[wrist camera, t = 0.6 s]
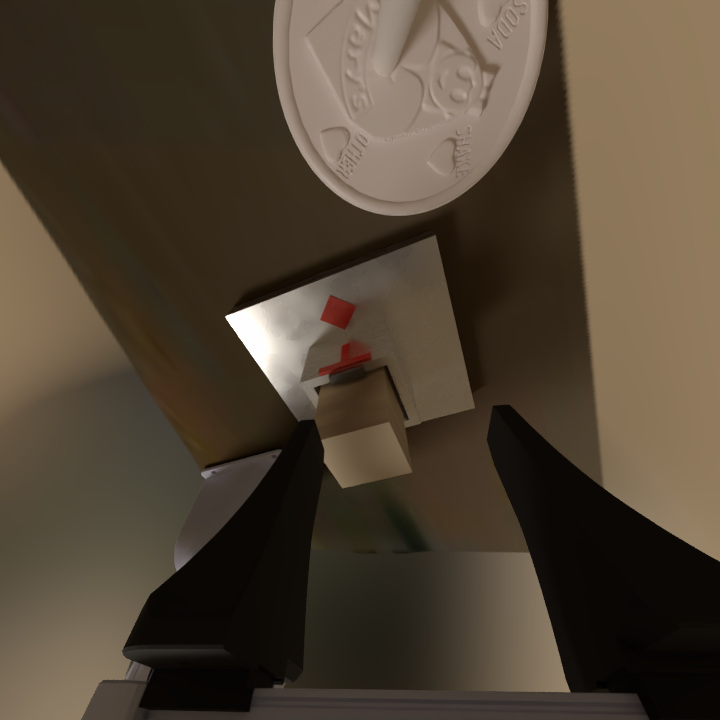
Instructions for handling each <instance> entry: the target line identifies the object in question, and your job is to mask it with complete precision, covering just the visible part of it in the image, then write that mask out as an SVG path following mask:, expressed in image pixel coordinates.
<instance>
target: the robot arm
mask: <svg viewBox="0 0 720 720" xmlns="http://www.w3.org/2000/svg"><path fill="white" fill-rule="evenodd" d="M487 442H488V445H489V449H490V452H491V456H492V459H493V462H494V465H495V467H496V470H497V472H498V475H499V477H500V479H501V482H502V484H503V486H504V488H505V491H506V493H507V495H508V498H509V500H510V502H511V504H512V507H513V509H514V511H515V514H516V516H517V518H518V521H519V523H520V526H521V528H522V531H523V534H524V537H525V540H526V543H527V546H528V549H529V552H530V555H531V558H532V561H533V564H534V567H535V571H536V574H537V577H538V580H539V583H540V587H541V589H542V593H543V597H544V600H545V604H546V607H547V610H548V614H549V618H550V621H551V624H552V628H553V632H554V636H555V639H556V643H557V646H558V651H559V654H560V658H561V662H562V666H563V670H564V674H565V678H566V681H567V684H568V686H569V689H570V692H571V693H565V692H564V693H563V692H495V691H494V692H492V691H428V690H427V691H426V690H356V689H289V688H284V685H285V683H288V682H289V683H293V682H295V680H297V678H298V677H299V676H300V674H301V673H302V671H303V655H304V634H305V633H304V632H305V615H306V614H305V613H306V598H307V584H308V570H309V559H310V549H311V539H312V532H313V526H314V520H315V515H316V509H317V504H318V499H319V493H320V488H321V482H322V476H323V466H324V447H323V444H322V441H321V438H320V434H319V431H318V428H317V425H316V422H315V419H311V420H300V421H299V422H298V424H297V426H296V428H295V429H294V431H293V433H292V435H291V436H290V438H289V440H288V441H287V443H286V444H285V446H284V448H283V449H282V450H281V449H277V450H273V451H270V452H266V453H262V454H259V455H255V456H251V457H247V458H244V459H240V460H236V461H232V462H229V463H225V464H221V465H218V466H214V467H210V468H206V469H203V470H202V472H201V475H202V476H203V477H204V478H205V481H204V484H203V486H202V488H201V490H200V492H199V494H198V496H197V498H196V500H195V502H194V504H193V506H192V508H191V510H190V512H189V514H188V516H187V518H186V520H185V523H184V525H183V527H182V529H181V531H180V533H179V535H178V538H177V542H176V547H175V555H174V560H175V567H176V570H177V572H176V573H175V574H173V575H172V576H171V577H170V578H169V579H168V580H167V581H165V582H164V583H163V584H162V585H161V586H160V587H159V588H157V589H156V590H155V591H154V592H153V593H151V594H150V596H149V598H148V599H147V601H146V603H145V605H144V607H143V609H142V610H141V613H140V615H139V617H138V619H137V621H136V623H135V625H134V627H133V629H132V631H131V634H130V636H129V638H128V640H127V642H126V644H125V646H124V649H123V650H122V652H123V655H124V656H125V657H126V658H128V659H130V660H131V662H130V665H129V667H128V670H127V672H126V676H125V680H103V681H102V682H101V683H99V685H98V687H97V689H96V691H95V693H94V695H93V697H92V699H91V701H90V703H89V705H88V707H87V709H86V711H85V713H84V715H83V717H82V719H81V720H720V562H719V561H718V560H716V559H714V558H712V557H710V556H708V555H707V554H705V553H703V552H701V551H700V550H698V549H696V548H695V547H693V546H691V545H689V544H688V543H686V542H684V541H683V540H681V539H679V538H678V537H676V536H674V535H672V534H671V533H669V532H668V531H666V530H664V529H663V528H661V527H660V526H658V525H656V524H655V523H654V522H652V521H650V520H649V519H648V518H646V517H644V516H643V515H641V514H640V513H638V512H637V511H635V510H634V509H632V508H630V507H629V506H628V505H626V504H625V503H623V502H622V501H620V500H619V499H618V498H616V497H615V496H613V495H612V494H611V493H609V492H608V491H607V490H605V489H604V488H603V487H601V486H600V485H598V484H597V483H596V482H595V481H593V480H592V479H591V478H589V477H588V476H587V475H586V474H584V473H583V472H582V471H581V470H579V469H578V468H577V467H576V466H575V465H573V464H572V463H571V462H570V461H569V460H567V459H566V458H565V457H564V456H563V455H562V454H561V453H559V452H558V451H557V450H556V449H555V448H554V447H553V446H552V445H551V444H550V443H548V442H547V441H546V440H545V439H544V438H543V437H542V436H541V435H540V434H539V433H538V432H537V431H536V430H535V429H534V428H533V427H532V426H530V425H529V424H528V423H527V422H526V421H525V420H524V419H523V418H522V417H521V416H520V415H519V414H518V413H517V412H516V411H515V410H514V409H513V408H512V407H511V406H510V405H497V406H493V408H492V414H491V419H490V425H489V431H488V436H487Z"/></svg>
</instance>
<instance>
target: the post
mask: <svg viewBox="0 0 720 720" xmlns="http://www.w3.org/2000/svg"><path fill="white" fill-rule="evenodd" d="M401 402H402V401H401V398H400V396H399V393H398V391H397V388H396V386H395V383H394V381H393V378H392V376H391V373H390V371H389V369H388V366H387V365H385V366H382V367H379V368H375V369H372V370H369V371H366V372H365V376H363V377H360V378H357V379H353V380H350V381H347V382H344V383H340V384H337V385H334V386H333V385H332V384H331V382H330V383H327V384H323V385H321V387H320V393H319V398H318V404H317V409H316V415H315V422H316V425H317V428H318V431H319V434H320V438H321V441H322V444H323V447H324V463H325V464H326V465H327V467H328V468H329V470H330V471H331V472H332V474H333V475H334V477H335V478H336V480H337V481H338V482H339V484H340V485H341V487H342V488H346V487H350V486H355V485H359V484H364V483H368V482H373V481H377V480H381V479H386V478H390V477H395V476H399V475H403V474H408V473H412V466H411V460H410V454H409V448H408V442H407V436H406V430H405V424H404V418H403V409H402V406H401Z"/></svg>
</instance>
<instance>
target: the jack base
mask: <svg viewBox="0 0 720 720" xmlns="http://www.w3.org/2000/svg"><path fill="white" fill-rule="evenodd" d="M225 317H226V319H227V320H228V322H229V323H230V324H231V326H232V327H233V329H234V330H235V332H236V333H237V334H238V336H239V337H240V339H241V340H242V342H243V343H244V344H245V346H246V347H247V349H248V350H249V352H250V353H251V354H252V356H253V357H254V359H255V360H256V362H257V363H258V364H259V366H260V367H261V369H262V370H263V372H264V373H265V374H266V376H267V377H268V379H269V380H270V382H271V383H272V384H273V386H274V387H275V389H276V390H277V392H278V393H279V394H280V396H281V397H282V399H283V400H284V402H285V403H286V404H287V406H288V407H289V409H290V410H291V412H292V413H293V415H294V416H295V417H296V419H297V420H298V422H299V421H300V420H311V419H315V415H316V409H317V404H318V398H319V393H320V387H321V385H323V384H327V383H330V382H331V384H332V385H333V386H334V385H337V384H340V383H344V382H347V381H350V380H353V379H357V378H360V377H363V376H365V372H366V371H369V370H372V369H375V368H379V367H382V366H385V365H387V366H388V369H389V371H390V373H391V376H392V378H393V381H394V383H395V386H396V388H397V391H398V393H399V396H400V398H401V401H402V402H401V406H402V409H403V418H404V424H405V428H406V427H410V426H414V425H417V424H421V422H423V421H427V420H431V419H435V418H438V417H442V416H446V415H450V414H454V413H458V412H462V411H465V410H469V409H473V408H475V406H474V401H473V397H472V393H471V388H470V384H469V380H468V375H467V371H466V366H465V362H464V358H463V353H462V349H461V344H460V340H459V336H458V331H457V327H456V322H455V318H454V314H453V309H452V305H451V300H450V296H449V292H448V287H447V283H446V278H445V274H444V270H443V265H442V261H441V256H440V252H439V248H438V243H437V239H436V235H435V234H434V233H433V232H432V231H431V230H429V231H426V232H424V233H421V234H419V235H416V236H413V237H411V238H408V239H406V240H403V241H401V242H398V243H396V244H393V245H391V246H388V247H385V248H383V249H380V250H378V251H375V252H373V253H370V254H368V255H365V256H362V257H360V258H357V259H355V260H352V261H350V262H347V263H345V264H342V265H340V266H337V267H334V268H332V269H329V270H327V271H324V272H322V273H319V274H317V275H314V276H311V277H309V278H306V279H304V280H301V281H299V282H296V283H294V284H291V285H289V286H286V287H283V288H281V289H278V290H276V291H273V292H271V293H268V294H266V295H263V296H261V297H258V298H255V299H253V300H250V301H248V302H245V303H243V304H240V305H238V306H235V307H233V308H232V309H231V310H230V311H229V313H228V314H227V315H226V316H225Z"/></svg>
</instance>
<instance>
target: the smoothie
mask: <svg viewBox="0 0 720 720" xmlns="http://www.w3.org/2000/svg"><path fill="white" fill-rule="evenodd" d="M547 24H548V0H276V2H275V9H274V22H273V55H274V68H275V75H276V83H277V88H278V92H279V97H280V101H281V105H282V108H283V112H284V115H285V118H286V121H287V124H288V126H289V129H290V131H291V134H292V136H293V138H294V140H295V142H296V144H297V146H298V148H299V150H300V152H301V153H302V155H303V157H304V158H305V160H306V161H307V163H308V164H309V166H310V167H311V169H312V170H313V171H314V172H315V174H316V175H317V176H318V177H319V178H320V179H321V180H322V181H323V182H324V183H325V185H326V186H327V187H329V188H330V189H331V190H332V191H333V192H334V193H336V194H337V195H338V196H340V197H341V198H343V199H344V200H346V201H347V202H349V203H351V204H353V205H355V206H357V207H359V208H361V209H364V210H367V211H370V212H373V213H377V214H383V215H392V216H406V215H413V214H419V213H423V212H427V211H430V210H433V209H436V208H438V207H440V206H442V205H445V204H447V203H449V202H450V201H452V200H454V199H455V198H457V197H459V196H460V195H462V194H463V193H464V192H466V191H467V190H469V189H470V188H471V187H472V186H473V185H474V184H476V183H477V182H478V181H479V180H480V179H481V178H482V177H483V176H484V175H485V174H486V173H487V172H488V171H489V170H490V169H491V167H492V166H493V165H494V164H495V163H496V162H497V160H498V159H499V158H500V156H501V155H502V153H503V152H504V151H505V149H506V148H507V146H508V145H509V143H510V141H511V140H512V138H513V137H514V135H515V133H516V131H517V129H518V127H519V126H520V124H521V122H522V120H523V117H524V115H525V113H526V111H527V109H528V106H529V103H530V101H531V98H532V95H533V93H534V90H535V86H536V83H537V80H538V76H539V73H540V69H541V64H542V60H543V55H544V49H545V42H546V36H547Z"/></svg>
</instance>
